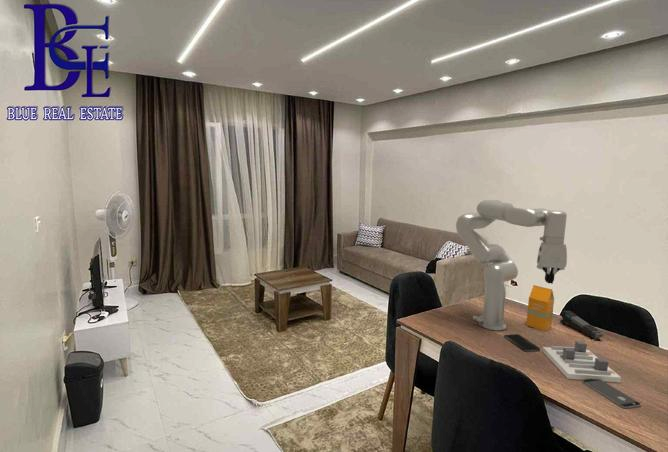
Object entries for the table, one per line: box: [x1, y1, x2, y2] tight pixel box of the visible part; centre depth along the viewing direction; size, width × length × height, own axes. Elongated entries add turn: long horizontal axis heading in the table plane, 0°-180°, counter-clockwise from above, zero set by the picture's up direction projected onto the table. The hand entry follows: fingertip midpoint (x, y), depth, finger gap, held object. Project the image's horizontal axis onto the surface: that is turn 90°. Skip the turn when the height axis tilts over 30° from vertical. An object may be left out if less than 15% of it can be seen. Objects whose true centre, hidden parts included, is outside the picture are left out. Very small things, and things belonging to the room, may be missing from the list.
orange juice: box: [526, 285, 555, 332], centre depth 179 cm, size 8×9×20 cm
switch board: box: [541, 345, 622, 384], centre depth 143 cm, size 18×21×3 cm
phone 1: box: [503, 333, 541, 353], centre depth 162 cm, size 8×1×15 cm
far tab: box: [574, 340, 588, 352], centre depth 149 cm, size 3×3×4 cm
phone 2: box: [581, 379, 642, 410], centre depth 125 cm, size 8×1×16 cm
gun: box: [559, 310, 604, 340], centre depth 175 cm, size 4×20×10 cm, turn 13°
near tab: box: [594, 357, 609, 371], centre depth 135 cm, size 3×3×4 cm
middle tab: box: [562, 348, 575, 360], centre depth 143 cm, size 3×3×4 cm
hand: (549, 282), depth 154 cm, fingers closed
